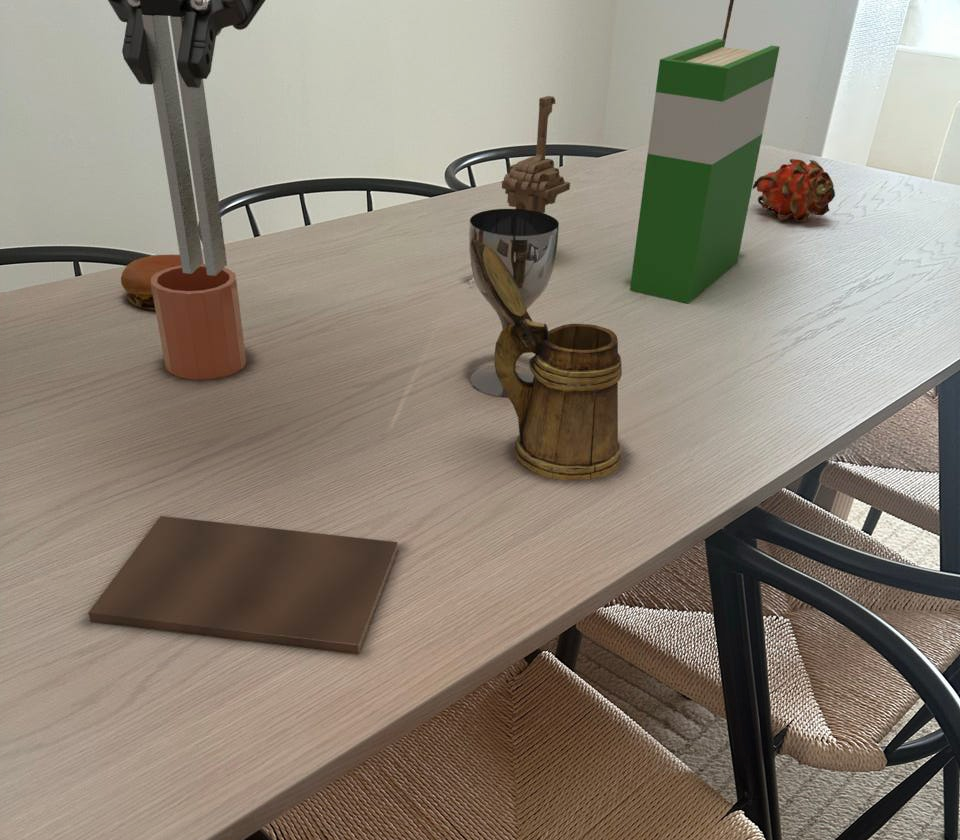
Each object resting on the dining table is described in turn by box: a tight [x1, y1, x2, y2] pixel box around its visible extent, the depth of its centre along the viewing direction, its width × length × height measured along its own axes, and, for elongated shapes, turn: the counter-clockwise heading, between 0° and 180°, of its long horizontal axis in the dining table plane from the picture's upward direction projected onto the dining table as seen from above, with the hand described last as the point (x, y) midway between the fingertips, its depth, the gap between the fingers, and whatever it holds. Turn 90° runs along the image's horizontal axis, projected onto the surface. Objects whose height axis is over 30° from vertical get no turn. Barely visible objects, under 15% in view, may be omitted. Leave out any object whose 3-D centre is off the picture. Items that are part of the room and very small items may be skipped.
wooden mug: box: [469, 239, 623, 481], centre depth 79 cm, size 9×14×18 cm, turn 81°
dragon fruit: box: [752, 158, 836, 223], centre depth 140 cm, size 8×8×12 cm
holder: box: [151, 263, 247, 381], centre depth 94 cm, size 8×8×9 cm
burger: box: [120, 254, 205, 311], centre depth 108 cm, size 10×9×5 cm
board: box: [87, 515, 398, 655], centre depth 68 cm, size 18×12×2 cm, turn 82°
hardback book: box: [629, 38, 781, 304], centre depth 115 cm, size 18×7×24 cm, turn 150°
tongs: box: [140, 0, 228, 276], centre depth 66 cm, size 2×2×17 cm
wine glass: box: [468, 208, 560, 398], centre depth 92 cm, size 8×8×15 cm
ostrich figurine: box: [467, 95, 571, 287], centre depth 116 cm, size 17×7×18 cm, turn 145°
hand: (164, 76), depth 62 cm, fingers closed on tongs, 2 cm apart
